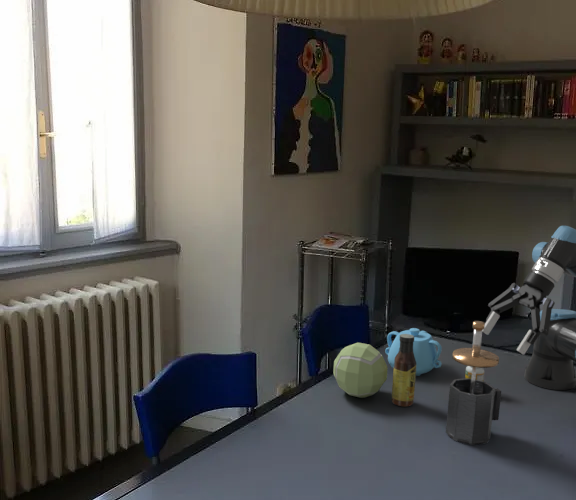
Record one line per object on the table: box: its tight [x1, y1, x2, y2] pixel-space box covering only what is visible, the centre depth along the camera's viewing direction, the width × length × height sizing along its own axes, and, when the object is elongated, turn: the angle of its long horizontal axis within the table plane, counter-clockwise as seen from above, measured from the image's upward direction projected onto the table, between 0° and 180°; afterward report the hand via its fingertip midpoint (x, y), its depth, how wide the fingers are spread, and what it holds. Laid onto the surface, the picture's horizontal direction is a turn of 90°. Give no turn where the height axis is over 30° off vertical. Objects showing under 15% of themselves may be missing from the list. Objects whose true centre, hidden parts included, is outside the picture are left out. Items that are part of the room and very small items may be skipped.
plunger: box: [452, 320, 500, 394], centre depth 159 cm, size 11×11×21 cm
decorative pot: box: [384, 327, 443, 377], centre depth 205 cm, size 16×16×14 cm
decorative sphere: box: [332, 342, 388, 399], centre depth 183 cm, size 15×15×15 cm
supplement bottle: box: [464, 365, 485, 382], centre depth 189 cm, size 5×5×10 cm
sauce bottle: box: [391, 334, 417, 408], centre depth 178 cm, size 7×6×20 cm
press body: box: [445, 378, 502, 446], centre depth 162 cm, size 14×11×13 cm
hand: (501, 342), depth 175 cm, fingers open, 13 cm apart
